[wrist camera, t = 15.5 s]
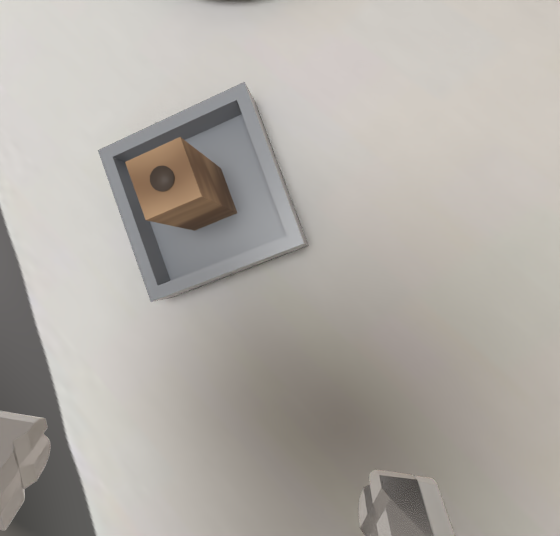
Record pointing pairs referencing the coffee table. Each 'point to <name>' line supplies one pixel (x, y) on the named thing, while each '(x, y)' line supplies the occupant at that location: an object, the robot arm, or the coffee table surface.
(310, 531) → the coffee table surface
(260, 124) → the tray
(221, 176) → the walnut block
